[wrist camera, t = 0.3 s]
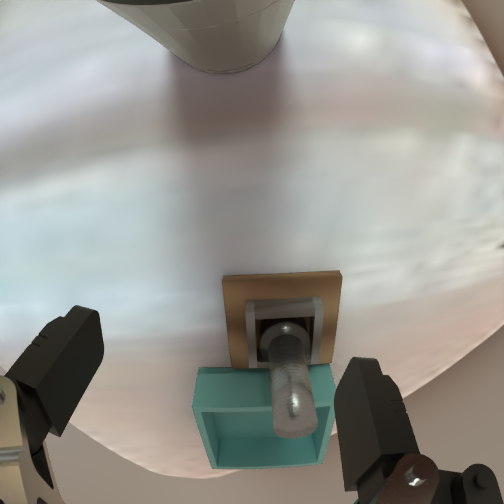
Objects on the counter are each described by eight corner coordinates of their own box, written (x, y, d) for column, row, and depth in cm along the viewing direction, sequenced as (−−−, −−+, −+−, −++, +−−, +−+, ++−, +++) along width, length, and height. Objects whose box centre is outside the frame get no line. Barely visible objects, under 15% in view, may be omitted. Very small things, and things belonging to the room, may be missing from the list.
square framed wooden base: (223, 275, 30) (220, 293, 27) (339, 270, 30) (347, 287, 27) (232, 361, 34) (231, 381, 31) (329, 355, 34) (335, 375, 31)
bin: (198, 367, 35) (192, 407, 29) (328, 361, 35) (338, 400, 29) (214, 435, 41) (212, 468, 36) (316, 430, 41) (322, 463, 35)
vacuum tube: (258, 310, 30) (262, 411, 19) (307, 307, 30) (331, 405, 19) (260, 346, 32) (264, 444, 21) (304, 343, 32) (323, 439, 21)
